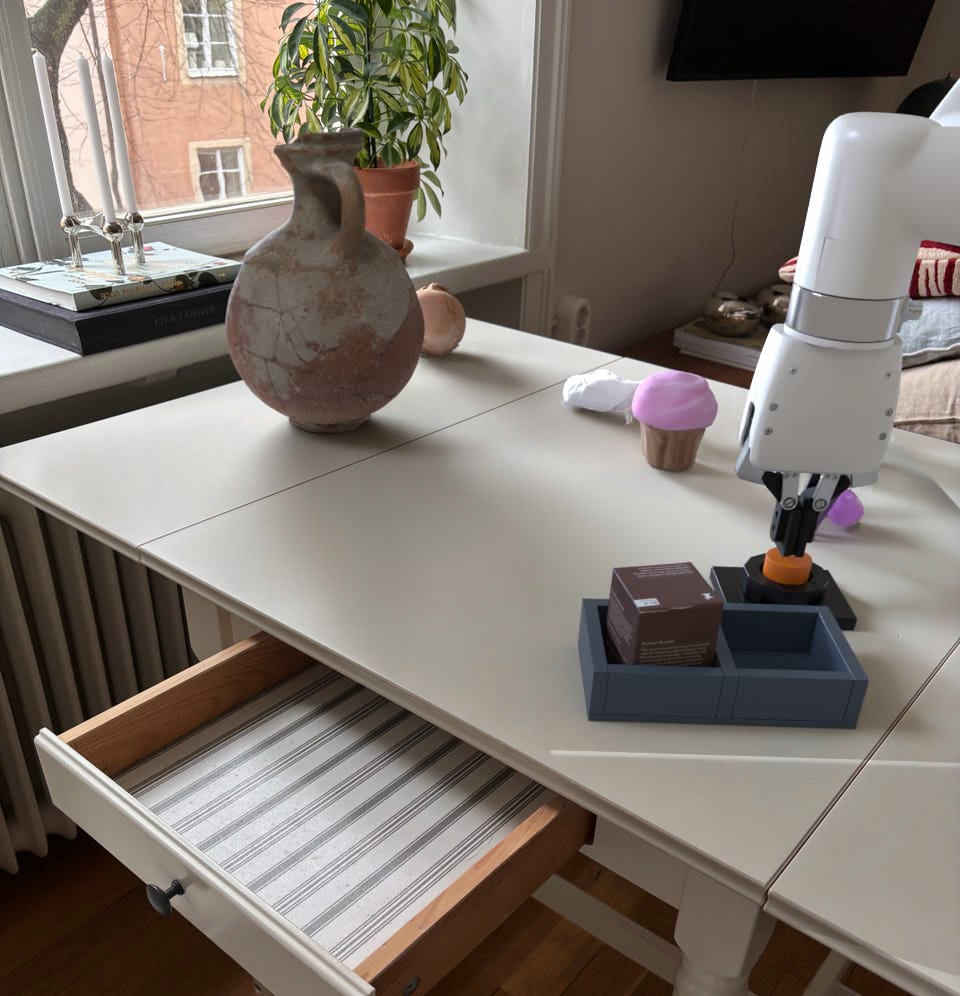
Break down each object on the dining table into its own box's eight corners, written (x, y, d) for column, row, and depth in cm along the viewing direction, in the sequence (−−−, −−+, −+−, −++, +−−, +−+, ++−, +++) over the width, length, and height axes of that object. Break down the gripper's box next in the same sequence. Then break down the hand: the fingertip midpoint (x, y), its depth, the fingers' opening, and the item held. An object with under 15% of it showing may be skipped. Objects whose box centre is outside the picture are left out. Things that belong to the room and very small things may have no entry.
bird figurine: (642, 422, 120) (572, 387, 123) (657, 375, 115) (584, 339, 117) (623, 441, 117) (552, 405, 120) (638, 394, 112) (563, 356, 114)
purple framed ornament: (845, 442, 94) (837, 476, 87) (895, 468, 94) (891, 504, 87) (807, 498, 98) (796, 536, 91) (854, 524, 98) (847, 563, 91)
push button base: (825, 581, 85) (833, 550, 83) (854, 631, 78) (863, 598, 76) (709, 578, 85) (714, 546, 83) (727, 627, 78) (734, 594, 76)
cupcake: (716, 481, 102) (732, 386, 97) (633, 480, 102) (645, 385, 96) (696, 448, 110) (710, 359, 104) (618, 448, 109) (628, 357, 104)
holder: (816, 652, 75) (828, 605, 73) (855, 729, 67) (870, 680, 65) (577, 644, 75) (582, 597, 73) (588, 721, 67) (593, 671, 65)
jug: (348, 377, 127) (337, 113, 110) (465, 423, 114) (471, 132, 98) (199, 415, 114) (161, 122, 97) (312, 472, 101) (291, 146, 85)
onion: (433, 366, 141) (443, 294, 140) (474, 364, 134) (485, 289, 133) (378, 351, 135) (388, 276, 134) (418, 348, 128) (429, 269, 127)
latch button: (801, 566, 81) (805, 547, 81) (813, 587, 78) (818, 568, 77) (757, 564, 81) (761, 545, 80) (768, 586, 78) (772, 566, 77)
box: (678, 647, 74) (693, 560, 70) (709, 694, 69) (727, 603, 65) (600, 654, 73) (610, 566, 69) (626, 702, 68) (639, 610, 64)
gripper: (929, 305, 72) (866, 532, 82) (725, 296, 72) (686, 524, 82) (971, 334, 66) (897, 576, 76) (747, 324, 65) (702, 568, 75)
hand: (787, 548), depth 79 cm, fingers closed
